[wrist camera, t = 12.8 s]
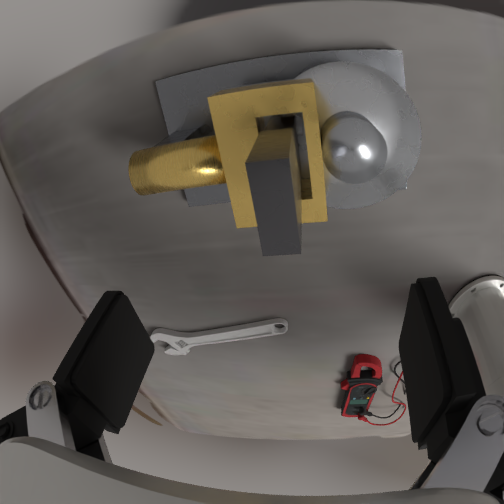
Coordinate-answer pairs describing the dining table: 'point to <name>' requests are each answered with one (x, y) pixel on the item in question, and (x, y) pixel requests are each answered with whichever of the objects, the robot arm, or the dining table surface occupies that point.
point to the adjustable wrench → (216, 335)
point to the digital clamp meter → (364, 388)
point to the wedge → (277, 187)
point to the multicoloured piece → (307, 125)
